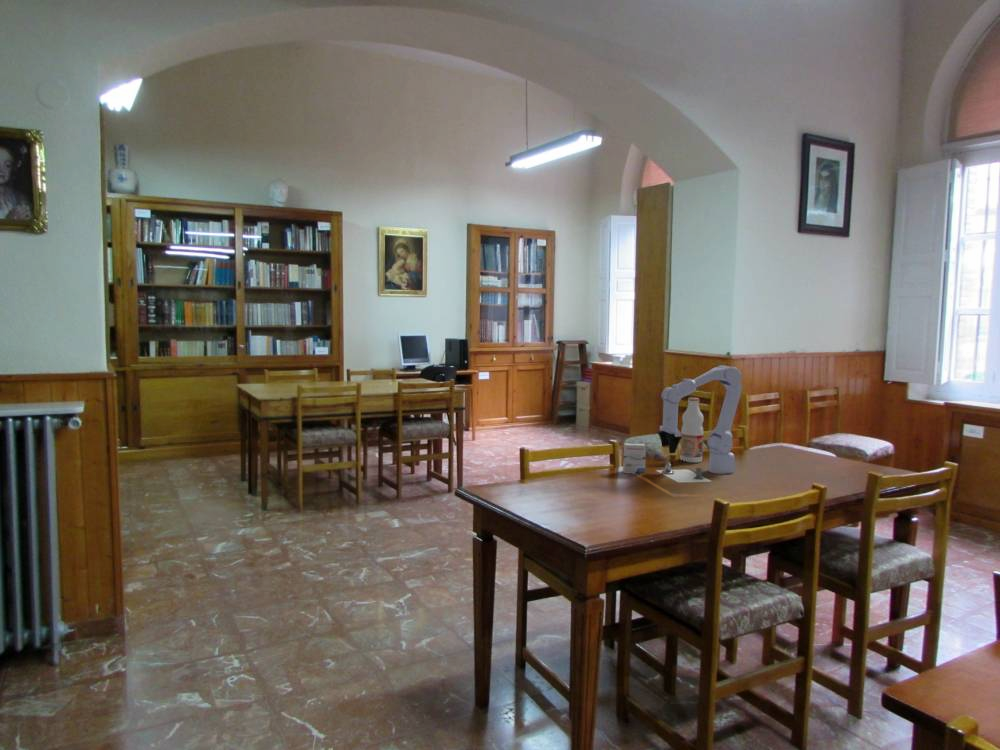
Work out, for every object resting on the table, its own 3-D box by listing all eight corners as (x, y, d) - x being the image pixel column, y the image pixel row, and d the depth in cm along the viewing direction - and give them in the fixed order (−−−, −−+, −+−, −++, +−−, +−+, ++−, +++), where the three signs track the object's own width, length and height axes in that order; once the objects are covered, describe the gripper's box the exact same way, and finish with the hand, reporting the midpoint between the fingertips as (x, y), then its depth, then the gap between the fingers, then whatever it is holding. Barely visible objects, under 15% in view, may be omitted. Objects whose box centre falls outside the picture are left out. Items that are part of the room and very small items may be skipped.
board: (687, 471, 273) (687, 459, 273) (712, 483, 254) (712, 471, 253) (655, 472, 270) (656, 460, 270) (678, 485, 251) (678, 472, 250)
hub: (670, 471, 269) (671, 460, 268) (676, 474, 264) (676, 463, 264) (659, 471, 268) (660, 460, 267) (665, 474, 263) (665, 463, 263)
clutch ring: (672, 452, 268) (672, 445, 268) (678, 455, 263) (678, 447, 263) (659, 452, 267) (659, 445, 267) (665, 455, 262) (665, 447, 262)
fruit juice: (677, 458, 300) (680, 396, 297) (698, 458, 300) (701, 397, 297) (682, 462, 291) (685, 399, 288) (704, 463, 290) (707, 399, 288)
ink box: (643, 471, 272) (644, 443, 271) (645, 474, 267) (646, 445, 266) (622, 471, 272) (623, 442, 271) (623, 473, 267) (624, 444, 266)
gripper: (653, 415, 270) (651, 447, 271) (669, 420, 256) (667, 455, 257) (669, 414, 272) (667, 447, 273) (686, 420, 258) (684, 454, 259)
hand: (668, 451), depth 265 cm, fingers closed on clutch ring, 6 cm apart
